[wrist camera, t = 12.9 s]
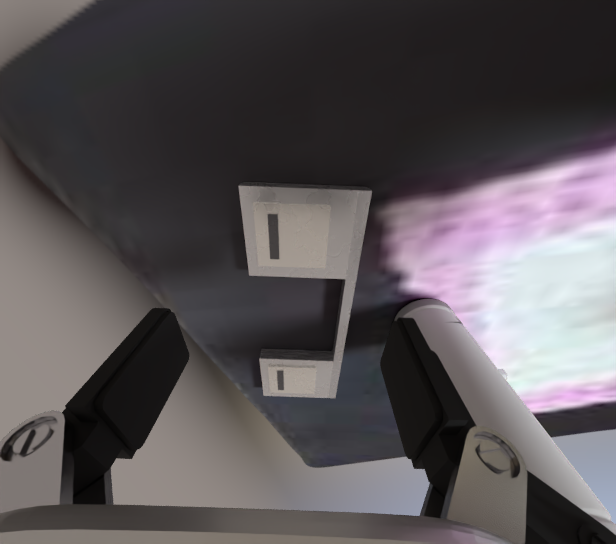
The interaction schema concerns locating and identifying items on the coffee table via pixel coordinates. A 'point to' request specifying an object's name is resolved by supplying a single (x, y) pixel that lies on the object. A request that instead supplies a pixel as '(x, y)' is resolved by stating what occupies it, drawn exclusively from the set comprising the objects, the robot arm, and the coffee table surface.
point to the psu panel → (305, 267)
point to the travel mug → (499, 403)
